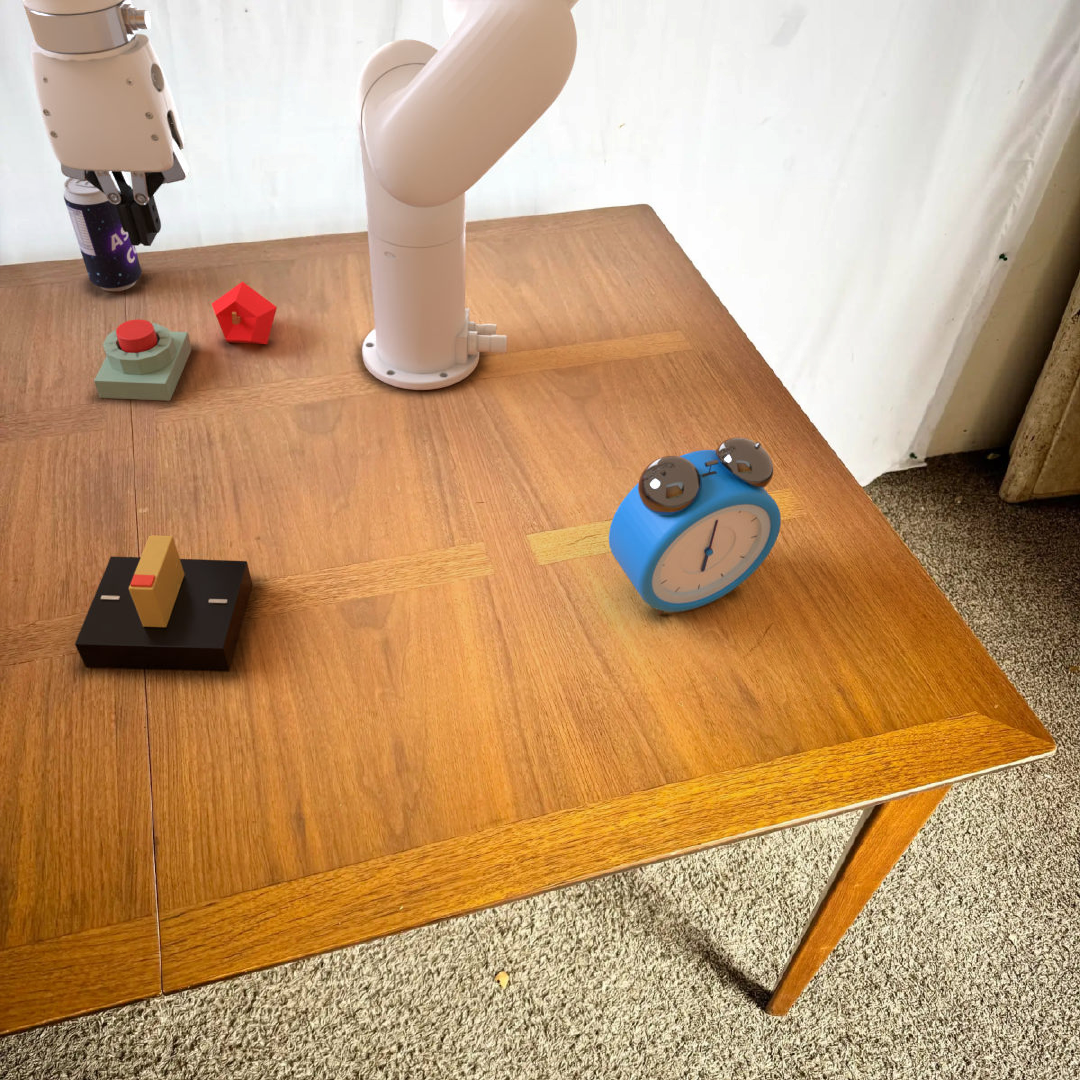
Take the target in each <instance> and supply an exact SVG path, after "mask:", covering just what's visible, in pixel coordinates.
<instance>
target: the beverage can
mask: <svg viewBox="0 0 1080 1080" xmlns="http://www.w3.org/2000/svg"><path fill="white" fill-rule="evenodd" d="M63 186H64V187H63V188H64V193H63V200H64V203H65V206H66V209H67V213H68V215H69V219H70V221H71V225H72V228H73V231H74V235H75V239H76V240H77V244H78V247H79V250H80V253H81V256H82V260H83V262H84V266H85V270H86V273H87V276H88V278H89V281H90V282H91V283H92V284H93V285H94V286H97V287H99V288H101V289H102V290H103V291H108V292H121V291H125V290H128V289H131V288H132V287H134V286H135V284H136V283H137V281H138V280H139V279H140V278H141V276H142V273H143V272H142V268H141V263H140V260H139V257H138V252H137V250H136V249H137V248H136V246H132V245H131V242H130V239H129V235H128V232H124V230H123V228H122V225H121V222H120V218H119V215H118V212H117V209H116V205H115V204H112V203H110V202H109V201H108V199H107V197H106V195H105V194H104V193H103V192H102V191H100V190H99V189H98V188H96V187H95V186H93V185H92V184H91V183H90V182H88V181H82V180H78V179H74V178H70V177H67V179H66V180H65V181H64V184H63Z"/></svg>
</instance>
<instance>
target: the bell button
mask: <svg viewBox="0 0 1080 1080" xmlns="http://www.w3.org/2000/svg"><path fill="white" fill-rule="evenodd" d="M152 323H153V322H150V321H148V320H146V319H139V318H138V319H131V320H126V321H124V322H122V323H121V324H119V325H117V327H116V329H115V330H116V335H117V338H118V341H119V345H120V348H121V349H122V350H123V351H124V352H127V353H140V352H144V351H148V350H150V349H152V348H153V347H155V346H156V345H157V337H156V333H155V330H154V326H153V324H152Z"/></svg>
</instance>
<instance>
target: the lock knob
mask: <svg viewBox="0 0 1080 1080" xmlns="http://www.w3.org/2000/svg"><path fill="white" fill-rule="evenodd" d="M140 557H141V558H140V561H139V563H138V566H137V568H136V571H135V574H134V576H133V579H132V581H131V584H130V586H129V591H130V594H131V596H132V599H133V601H134V604H135V607H136V609H137V612H138V614H139V617H140V620H141V622H142V625H143V626H144V627H167V624H168V621H169V618H170V615H171V612H172V609H173V607H174V604H175V601H176V598H177V595H178V592H179V589H180V586H181V583H182V580H183V578H184V575H185V574H184V571H183V568H182V564H181V561H180V559H181V558H180V555H179V552H178V548H177V545H176V543H175V539H174V536H173V535H159V534H155V535H154V534H153V535H152V534H150V535H149V536H148V538H147V541H146V543H145V546H144V549H143V551H142V553H141V556H140Z"/></svg>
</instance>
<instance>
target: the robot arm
mask: <svg viewBox="0 0 1080 1080" xmlns="http://www.w3.org/2000/svg"><path fill="white" fill-rule="evenodd" d="M21 1H22V2H21V3H22V4H23V7H24V11H25V14H26V17H27V20H28V23H29V27H30V29H31V32H32V35H33V38H34V39H33V41H32V42H31V44H30V46H29V47H30V48H29V49H30V60H31V68H32V74H33V81H34V86H35V92H36V97H37V101H38V105H39V110H40V114H41V118H42V121H43V124H44V125H43V126H44V129H45V131H46V134H47V138H48V140H49V143H50V147H51V149H52V152H53V154H54V156H55V158H56V159H57V161H58V162H59V164H60V168H61V169H60V170H61V173H62V174H63V176H65V177H67V178H74V179H78V180H82V181H88V182H90V183H91V184H92V185H93V186H95V187H96V188H98V189H99V190H100V191H102V192H103V193H104V194H105V195H106V197H107V199H108V201H109V202H110V203H112V204H115V205H116V209H117V212H118V215H119V218H120V222H121V225H122V228H123V230H124V232H128V235H129V239H130V242H131V245H132V246H135V247H137V246H140V245H143V246H144V247H151V245H152V244H153V242H154V240H155V238H156V236H157V234H159V233H160V232H161V229H162V221H161V218H160V215H159V210H158V206H157V203H156V200H155V196H154V195H155V194H156V193H157V191H158V190H159V189H160V187H161V186H162V185H164V184H172V183H177V182H181V181H184V180H185V179H186V178H187V176H188V174H189V172H190V168H189V165H188V163H187V162H186V160H185V157H184V156H183V153H182V152H181V151H182V150H183V149H184V147H185V144H186V142H185V135H184V130H183V126H182V123H181V120H180V116H179V113H178V109H177V107H176V103H175V100H174V97H173V94H172V90H171V88H170V86H169V84H168V80H167V78H166V74H165V72H164V70H163V68H162V66H161V62H160V60H159V57H158V55H157V53H156V51H155V49H154V47H153V44H152V42H151V41H150V38H149V37H148V36H147V35H146V34H142V33H138V32H141V31H142V30H150V29H151V26H152V22H151V21H152V20H151V15H150V13H149V11H148V10H146V9H139V8H138V7H134V5H133V3H132V0H21ZM579 1H580V0H443V2H442V12H443V13H442V14H443V21H444V24H445V28H446V31H447V34H448V39H446V40H445V42H444V43H443V45H442V46H441V47H440V48H439V49H437V48H435V47H433V46H432V45H430V44H428V43H426V42H423V41H421V40H417V39H407V38H406V39H405V38H404V39H396V40H392V41H390V42H387V43H385V44H383V45H381V46H380V47H378V49H376V50H375V51H374V52H373V53H372V54H371V55H370V56H369V57H368V58H367V60H366V61H365V63H364V65H363V67H362V69H361V71H360V73H359V76H358V80H357V84H356V90H355V113H356V123H357V131H358V139H359V146H360V147H359V148H360V156H361V167H362V175H363V186H364V188H363V189H364V198H365V211H366V223H367V224H366V226H367V241H368V253H369V266H370V267H369V268H370V280H371V292H372V305H373V318H374V328H373V329H372V330H371V331H370V332H369V333H368V334H367V335H366V336H365V338H364V340H363V343H362V349H361V355H362V361H363V363H364V366H365V368H366V369H367V370H368V372H369V373H370V374H371V375H372V376H373V377H375V378H376V379H378V380H379V381H381V382H382V383H385V384H387V385H390V386H393V387H395V388H400V389H404V390H414V391H426V390H427V391H429V390H437V389H442V388H446V387H450V386H452V385H454V384H457V383H459V382H461V381H462V380H464V379H466V378H467V377H469V376H470V375H471V374H472V373H473V372H474V371H475V369H476V367H477V366H478V363H479V361H480V353H490V354H507V352H508V335H505V334H497V323H483V324H482V323H476V321H475V320H470V308H469V307H466V226H467V198H466V197H467V191H468V190H470V189H471V188H472V187H473V186H474V185H476V184H477V183H478V182H479V181H480V180H481V179H482V178H483V177H484V176H485V175H486V174H487V173H488V172H489V171H490V170H491V169H492V168H493V166H495V165H496V164H497V163H498V162H499V160H501V159H502V158H503V156H504V155H505V154H506V153H507V152H508V151H509V150H510V149H511V148H512V147H513V146H514V145H515V144H516V143H517V142H518V141H519V140H520V139H521V138H522V137H523V136H524V135H525V134H526V133H527V132H528V131H529V130H530V129H531V128H532V126H533V125H535V123H536V122H537V121H538V120H539V119H540V118H541V117H542V116H544V114H545V113H546V112H547V111H548V109H549V108H550V107H552V105H553V104H554V102H555V101H556V100H557V99H558V98H559V95H560V94H561V93H562V91H563V90H564V88H565V86H566V84H567V82H568V80H569V78H570V76H571V74H572V71H573V68H574V66H575V61H576V57H577V50H578V36H577V29H576V23H575V20H574V16H573V14H572V12H571V11H572V9H573V8H574V7H575V6H576V4H577V3H578V2H579ZM126 172H127V173H130V180H131V184H130V182H129V181H130V180H129V179H128V176H127V173H126Z"/></svg>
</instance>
